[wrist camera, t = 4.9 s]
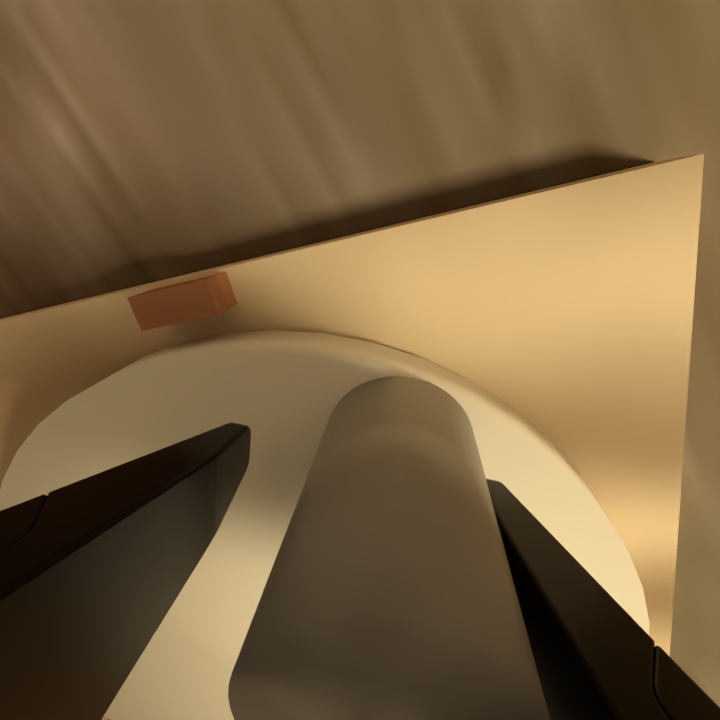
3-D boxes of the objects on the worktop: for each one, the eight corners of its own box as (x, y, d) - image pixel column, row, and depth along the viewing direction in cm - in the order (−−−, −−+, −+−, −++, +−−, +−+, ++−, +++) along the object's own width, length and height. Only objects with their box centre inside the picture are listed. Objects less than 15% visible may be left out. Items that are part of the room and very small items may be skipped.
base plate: (639, 736, 16) (677, 825, 14) (177, 726, 20) (147, 792, 18) (657, 161, 9) (746, 146, 6) (-78, 337, 13) (-183, 366, 11)
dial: (448, 809, 17) (468, 1141, 11) (35, 659, 16) (-179, 919, 11) (788, 497, 9) (1436, 1006, 3) (46, 206, 9) (-673, 214, 3)
